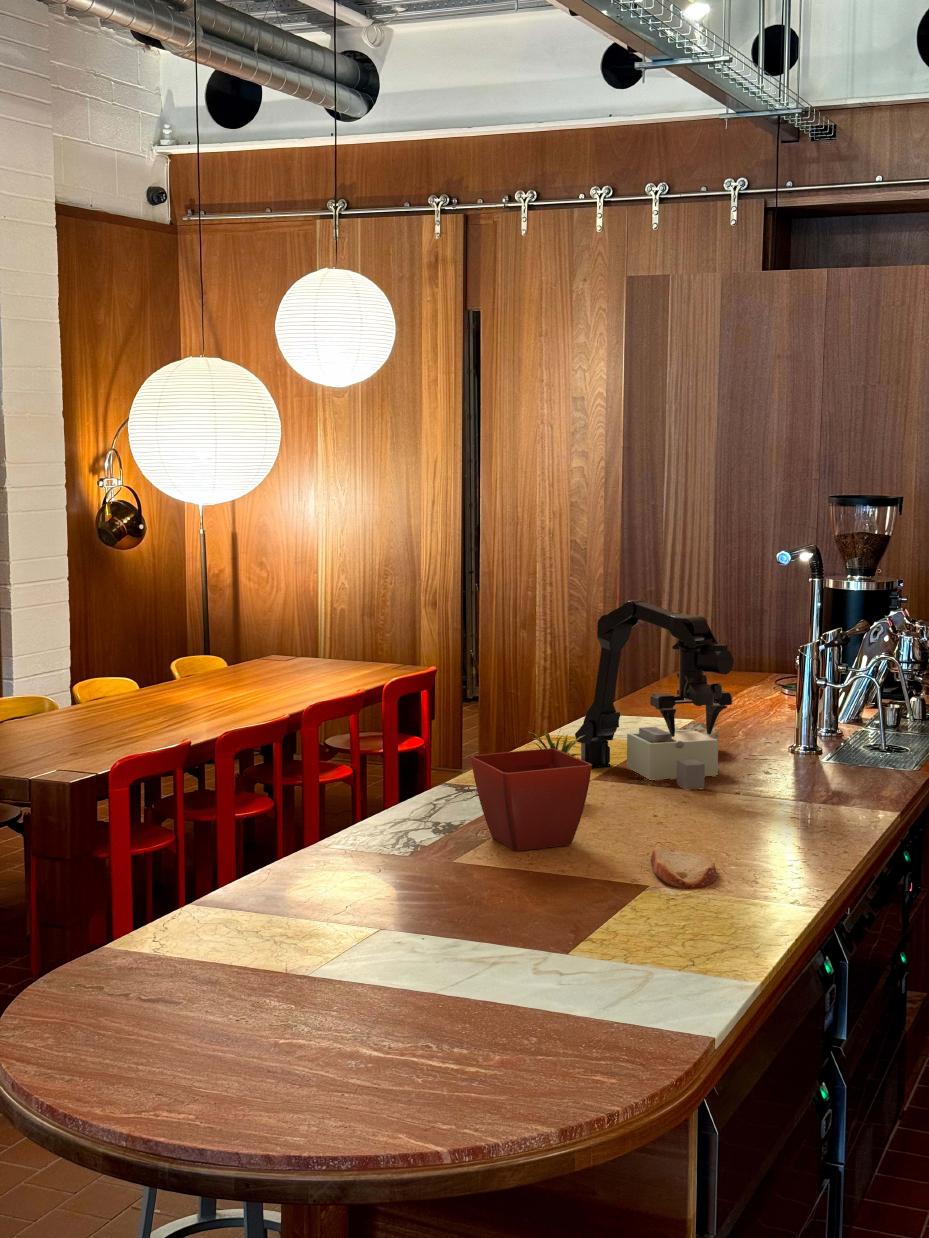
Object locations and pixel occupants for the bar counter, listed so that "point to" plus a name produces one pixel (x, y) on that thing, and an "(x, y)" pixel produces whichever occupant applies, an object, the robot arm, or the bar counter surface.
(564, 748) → the house plant
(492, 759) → the plant pot
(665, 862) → the bread slice
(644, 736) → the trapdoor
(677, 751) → the pale green open box
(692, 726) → the geode
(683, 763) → the grey block
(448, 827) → the bar counter surface
